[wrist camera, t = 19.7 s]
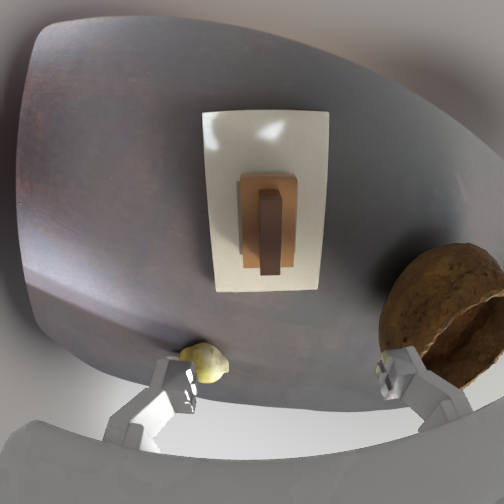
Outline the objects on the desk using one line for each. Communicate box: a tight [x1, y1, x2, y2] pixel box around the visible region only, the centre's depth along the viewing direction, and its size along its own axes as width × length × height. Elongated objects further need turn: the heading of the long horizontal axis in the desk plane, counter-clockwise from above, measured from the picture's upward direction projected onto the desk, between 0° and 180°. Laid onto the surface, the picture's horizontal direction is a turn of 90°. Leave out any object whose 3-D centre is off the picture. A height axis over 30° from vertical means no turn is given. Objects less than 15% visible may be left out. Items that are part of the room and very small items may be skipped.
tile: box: [202, 110, 329, 292], centre depth 29 cm, size 20×12×2 cm, turn 1°
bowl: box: [379, 243, 504, 390], centre depth 28 cm, size 19×19×15 cm
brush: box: [240, 174, 297, 276], centre depth 26 cm, size 9×5×6 cm, turn 1°
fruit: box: [166, 343, 229, 383], centre depth 38 cm, size 6×6×10 cm
